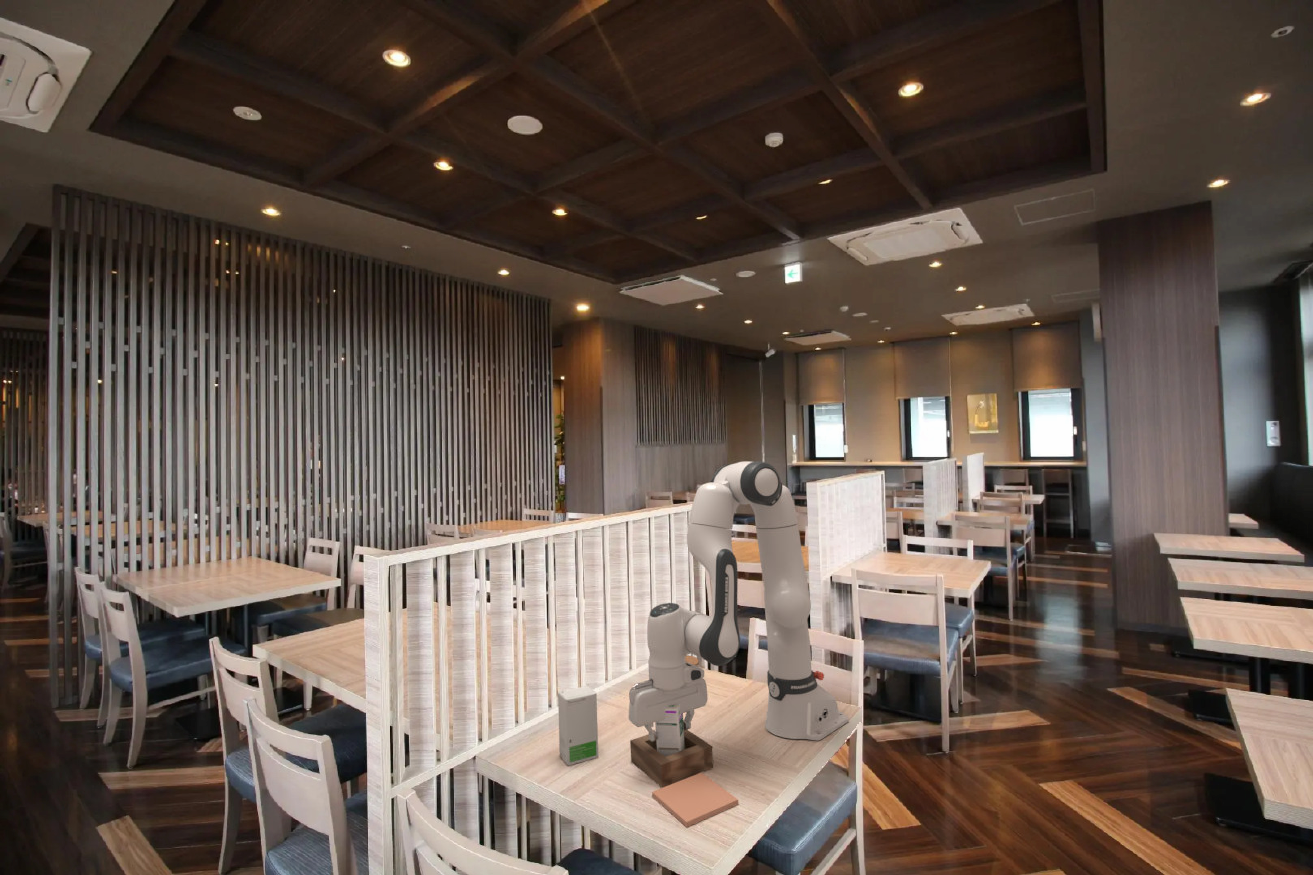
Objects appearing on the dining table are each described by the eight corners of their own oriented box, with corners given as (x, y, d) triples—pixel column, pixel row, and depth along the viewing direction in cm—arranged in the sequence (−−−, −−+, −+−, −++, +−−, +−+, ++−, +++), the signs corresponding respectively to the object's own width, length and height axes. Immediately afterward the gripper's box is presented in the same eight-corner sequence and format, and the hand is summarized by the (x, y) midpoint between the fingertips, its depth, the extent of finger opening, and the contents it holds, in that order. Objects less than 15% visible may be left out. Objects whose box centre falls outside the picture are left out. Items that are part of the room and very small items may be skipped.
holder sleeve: (679, 744, 151) (678, 724, 151) (713, 767, 139) (712, 745, 139) (631, 761, 144) (630, 740, 144) (662, 787, 132) (661, 764, 132)
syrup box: (682, 771, 138) (679, 708, 139) (656, 770, 139) (654, 706, 140) (685, 759, 144) (683, 697, 144) (661, 757, 145) (658, 696, 145)
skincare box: (567, 766, 143) (564, 700, 143) (558, 754, 149) (555, 691, 149) (600, 757, 147) (597, 692, 147) (590, 745, 152) (587, 683, 153)
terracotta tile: (701, 776, 136) (701, 772, 136) (738, 804, 125) (738, 799, 125) (652, 796, 129) (652, 791, 129) (686, 827, 118) (686, 821, 118)
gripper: (635, 689, 134) (638, 752, 134) (709, 668, 145) (712, 727, 144) (622, 681, 139) (625, 741, 139) (694, 661, 150) (697, 717, 150)
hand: (670, 734), depth 142 cm, fingers closed on syrup box, 8 cm apart
